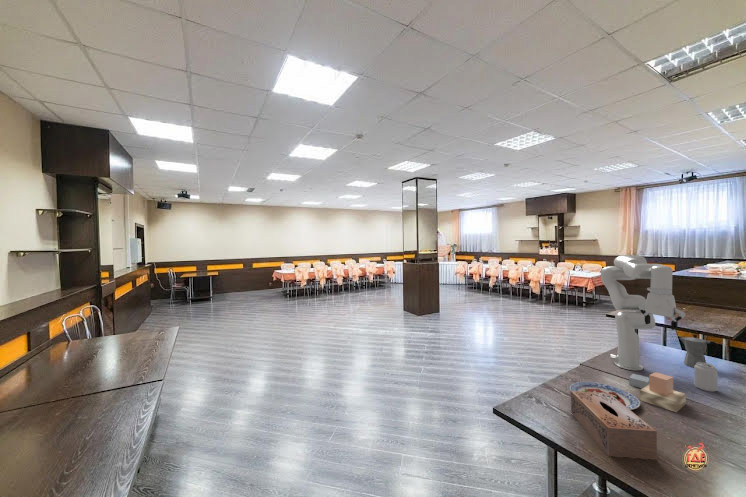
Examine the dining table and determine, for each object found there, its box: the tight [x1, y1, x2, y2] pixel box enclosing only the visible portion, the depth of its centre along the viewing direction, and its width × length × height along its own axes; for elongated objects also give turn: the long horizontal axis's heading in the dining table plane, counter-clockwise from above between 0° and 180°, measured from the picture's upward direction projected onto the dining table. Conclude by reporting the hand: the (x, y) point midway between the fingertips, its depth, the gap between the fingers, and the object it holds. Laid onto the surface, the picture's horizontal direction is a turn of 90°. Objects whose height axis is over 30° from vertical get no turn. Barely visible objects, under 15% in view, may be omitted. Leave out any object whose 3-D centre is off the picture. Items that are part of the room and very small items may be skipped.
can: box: [693, 362, 719, 393], centre depth 146 cm, size 8×8×12 cm
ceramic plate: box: [569, 381, 641, 411], centre depth 139 cm, size 26×26×3 cm
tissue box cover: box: [570, 391, 658, 460], centre depth 113 cm, size 26×14×10 cm, turn 171°
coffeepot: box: [678, 334, 719, 369], centre depth 171 cm, size 15×9×18 cm, turn 37°
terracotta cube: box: [648, 372, 674, 396], centre depth 135 cm, size 6×6×7 cm
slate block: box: [628, 373, 649, 389], centre depth 151 cm, size 7×7×4 cm
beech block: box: [639, 385, 687, 413], centre depth 135 cm, size 12×12×5 cm
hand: (660, 326), depth 146 cm, fingers open, 9 cm apart
